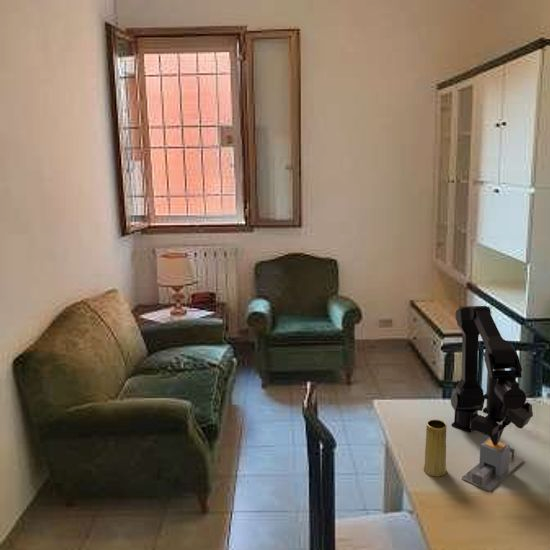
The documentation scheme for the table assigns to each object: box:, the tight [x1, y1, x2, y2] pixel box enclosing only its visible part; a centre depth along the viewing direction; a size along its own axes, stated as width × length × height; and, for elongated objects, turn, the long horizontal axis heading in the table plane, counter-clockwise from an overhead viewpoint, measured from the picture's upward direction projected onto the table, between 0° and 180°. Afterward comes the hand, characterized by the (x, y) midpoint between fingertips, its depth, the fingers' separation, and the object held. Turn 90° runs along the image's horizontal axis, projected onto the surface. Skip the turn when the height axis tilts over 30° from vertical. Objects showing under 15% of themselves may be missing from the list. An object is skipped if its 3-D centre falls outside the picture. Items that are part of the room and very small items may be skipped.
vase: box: [423, 419, 447, 477], centre depth 155 cm, size 6×6×14 cm
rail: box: [461, 447, 525, 493], centre depth 156 cm, size 8×20×3 cm, turn 133°
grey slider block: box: [478, 437, 511, 476], centre depth 155 cm, size 6×5×7 cm
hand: (495, 444), depth 154 cm, fingers closed
